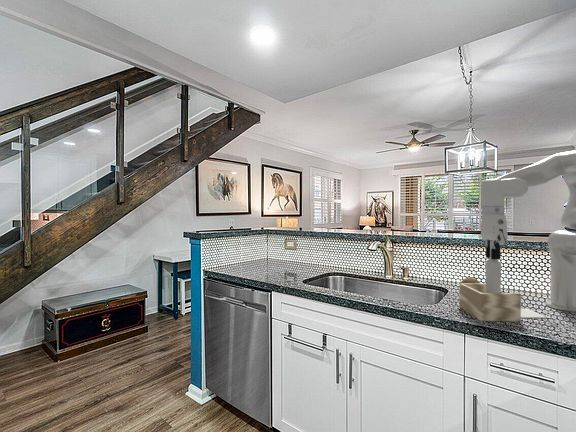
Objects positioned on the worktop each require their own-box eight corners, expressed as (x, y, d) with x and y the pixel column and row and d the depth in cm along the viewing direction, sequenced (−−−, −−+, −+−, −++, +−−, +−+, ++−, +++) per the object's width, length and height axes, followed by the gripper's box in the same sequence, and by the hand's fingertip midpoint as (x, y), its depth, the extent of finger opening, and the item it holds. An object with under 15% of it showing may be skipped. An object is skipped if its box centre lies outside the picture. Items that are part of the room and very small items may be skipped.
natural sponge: (464, 295, 148) (464, 274, 148) (485, 299, 142) (485, 277, 141) (456, 299, 142) (456, 277, 142) (478, 303, 136) (478, 280, 135)
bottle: (483, 301, 126) (483, 239, 126) (498, 302, 125) (498, 239, 124) (487, 305, 121) (487, 241, 121) (503, 306, 120) (503, 241, 119)
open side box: (494, 307, 131) (494, 283, 131) (520, 321, 115) (520, 293, 115) (459, 307, 131) (459, 283, 131) (481, 321, 115) (481, 293, 115)
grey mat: (527, 309, 127) (527, 308, 127) (547, 318, 117) (547, 317, 117) (502, 309, 128) (502, 308, 128) (519, 318, 118) (519, 317, 118)
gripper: (516, 211, 114) (517, 261, 114) (490, 210, 130) (490, 255, 130) (495, 211, 114) (495, 262, 115) (471, 211, 130) (472, 255, 131)
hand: (493, 257), depth 123 cm, fingers closed on bottle, 2 cm apart
